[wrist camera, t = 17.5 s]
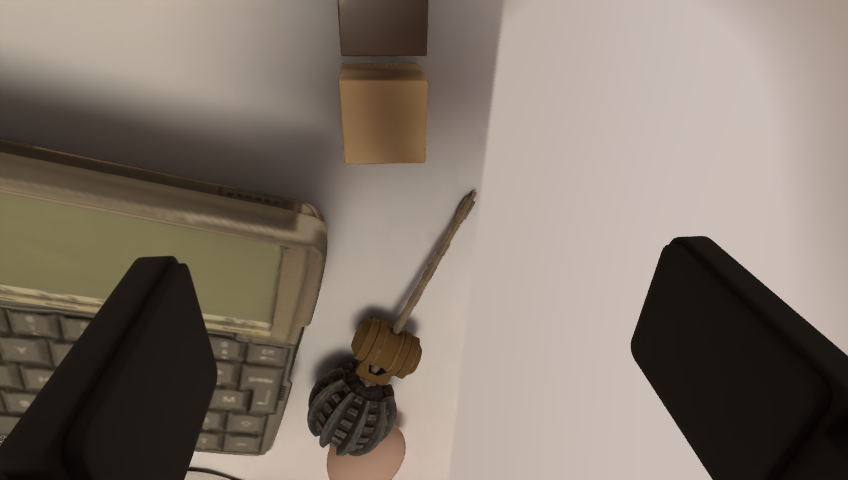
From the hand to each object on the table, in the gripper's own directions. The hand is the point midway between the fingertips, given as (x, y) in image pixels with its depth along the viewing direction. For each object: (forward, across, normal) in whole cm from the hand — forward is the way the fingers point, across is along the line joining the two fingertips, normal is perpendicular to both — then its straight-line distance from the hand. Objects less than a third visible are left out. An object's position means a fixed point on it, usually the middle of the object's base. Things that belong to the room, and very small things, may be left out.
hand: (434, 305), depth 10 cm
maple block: (+19, 0, +1) cm, 19 cm away
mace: (+18, -4, +6) cm, 20 cm away
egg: (+16, +5, +30) cm, 34 cm away
